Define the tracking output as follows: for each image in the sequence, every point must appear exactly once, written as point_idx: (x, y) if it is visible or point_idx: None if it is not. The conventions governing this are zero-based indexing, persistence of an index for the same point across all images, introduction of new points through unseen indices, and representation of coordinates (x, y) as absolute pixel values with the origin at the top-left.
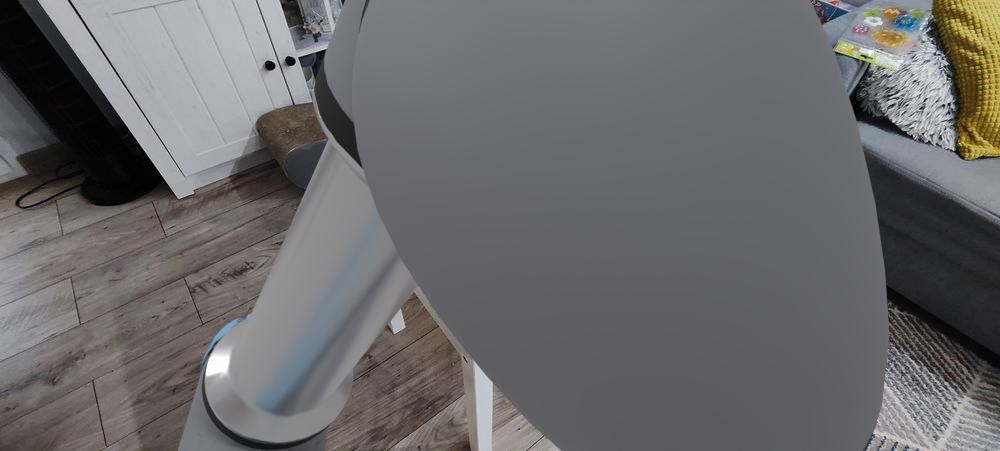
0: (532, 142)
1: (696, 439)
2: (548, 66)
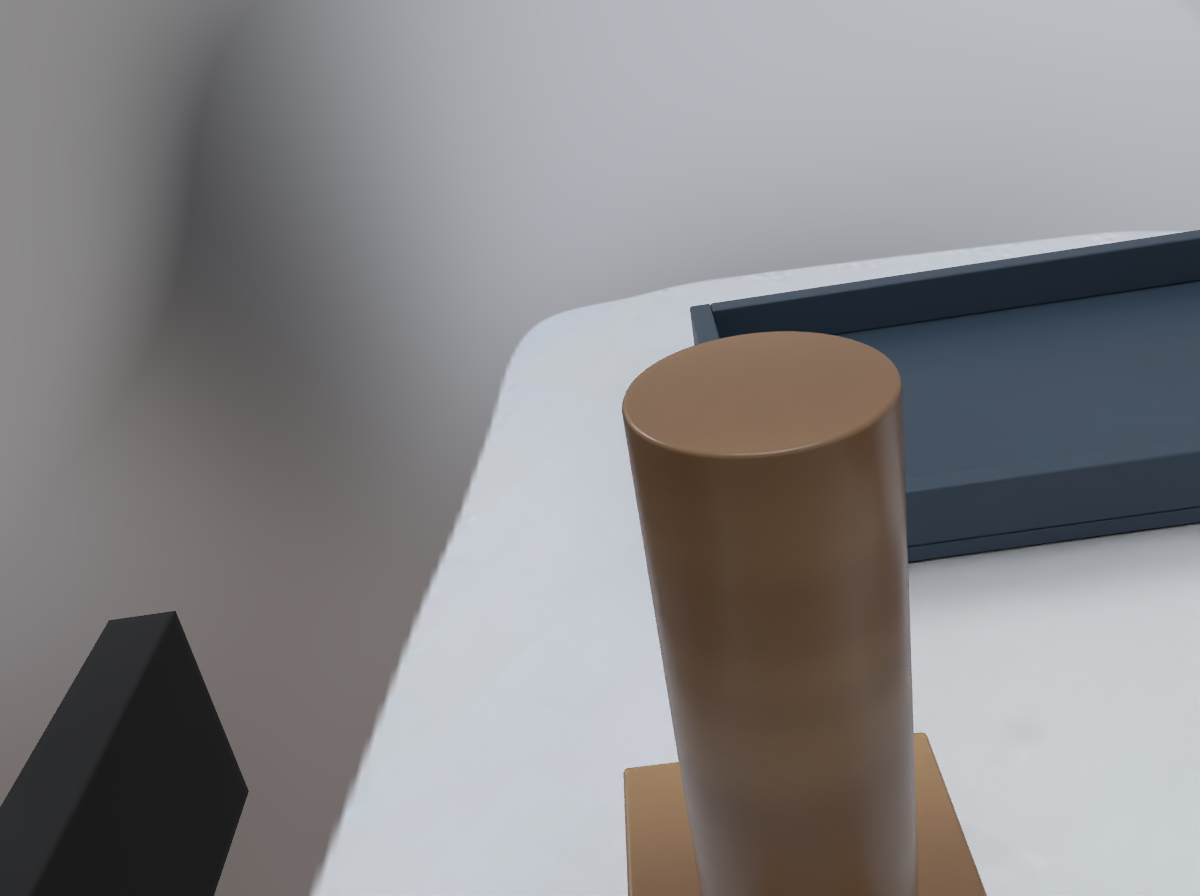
0: None
1: None
2: None
